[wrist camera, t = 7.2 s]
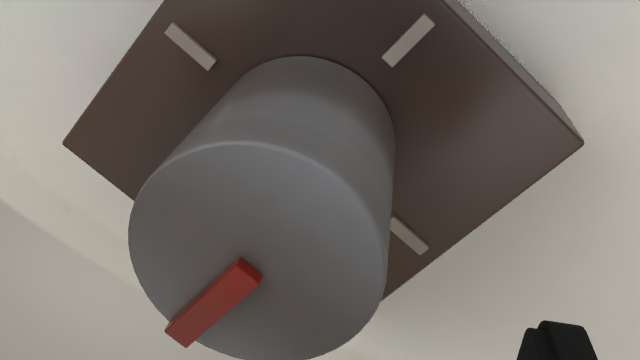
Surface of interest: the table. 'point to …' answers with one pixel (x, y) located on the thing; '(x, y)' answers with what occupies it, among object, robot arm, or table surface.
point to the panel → (374, 68)
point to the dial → (272, 215)
